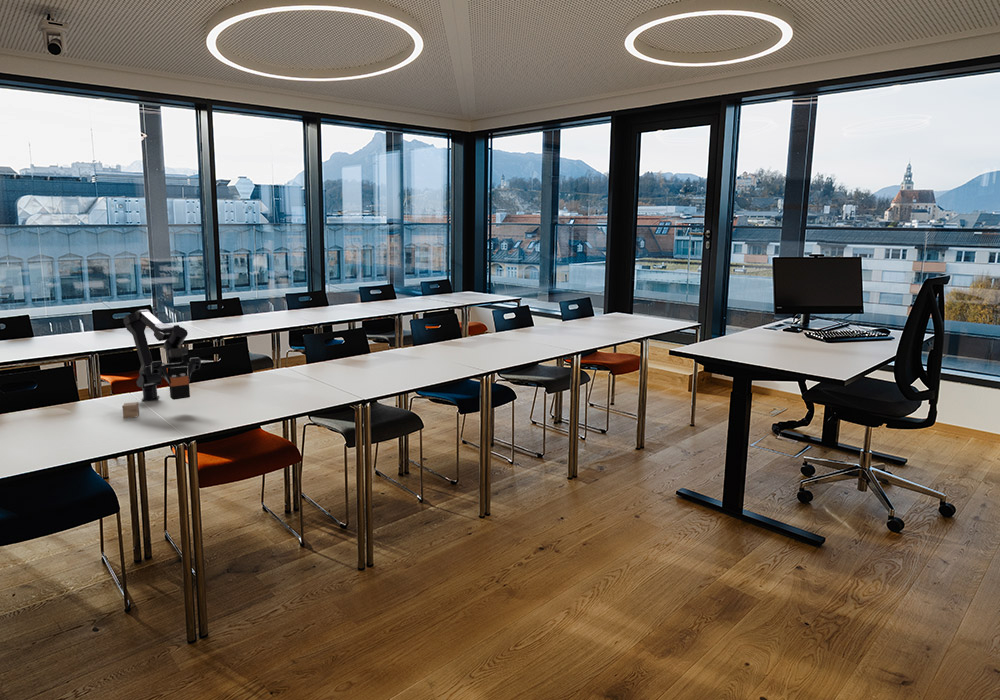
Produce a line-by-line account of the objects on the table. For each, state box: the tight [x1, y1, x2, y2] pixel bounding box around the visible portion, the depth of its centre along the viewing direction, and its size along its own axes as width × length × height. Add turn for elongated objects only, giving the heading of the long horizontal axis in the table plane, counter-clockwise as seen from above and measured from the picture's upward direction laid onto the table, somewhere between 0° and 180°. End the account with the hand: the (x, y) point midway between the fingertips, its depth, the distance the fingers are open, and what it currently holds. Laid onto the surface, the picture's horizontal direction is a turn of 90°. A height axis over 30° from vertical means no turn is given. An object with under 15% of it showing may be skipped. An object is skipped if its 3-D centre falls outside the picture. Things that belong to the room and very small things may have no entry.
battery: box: [168, 373, 191, 401], centre depth 282 cm, size 4×7×10 cm, turn 129°
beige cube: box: [122, 401, 140, 419], centre depth 278 cm, size 5×5×5 cm
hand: (179, 382), depth 280 cm, fingers closed on battery, 7 cm apart
